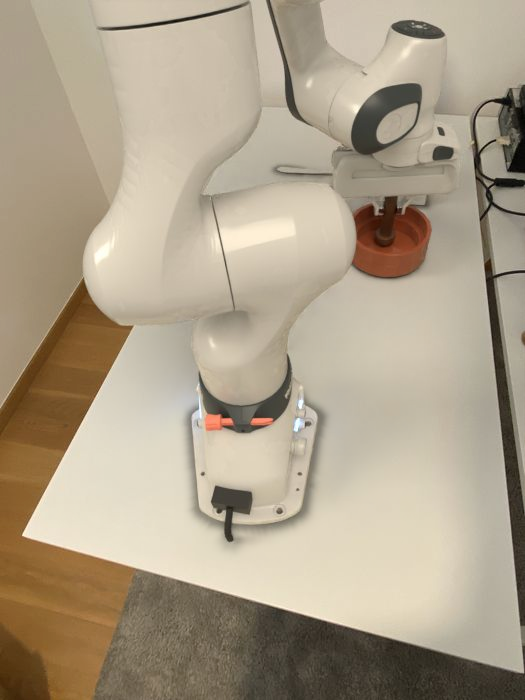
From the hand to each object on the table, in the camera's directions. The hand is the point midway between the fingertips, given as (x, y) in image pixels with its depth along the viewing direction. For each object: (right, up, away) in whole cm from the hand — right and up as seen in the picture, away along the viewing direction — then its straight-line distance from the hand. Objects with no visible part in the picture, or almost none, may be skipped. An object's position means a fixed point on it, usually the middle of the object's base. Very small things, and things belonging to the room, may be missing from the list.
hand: (389, 212), depth 88 cm
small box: (+8, +8, +15) cm, 19 cm away
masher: (0, -3, +5) cm, 6 cm away
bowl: (+1, -6, +5) cm, 8 cm away
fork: (-7, +13, +20) cm, 25 cm away
